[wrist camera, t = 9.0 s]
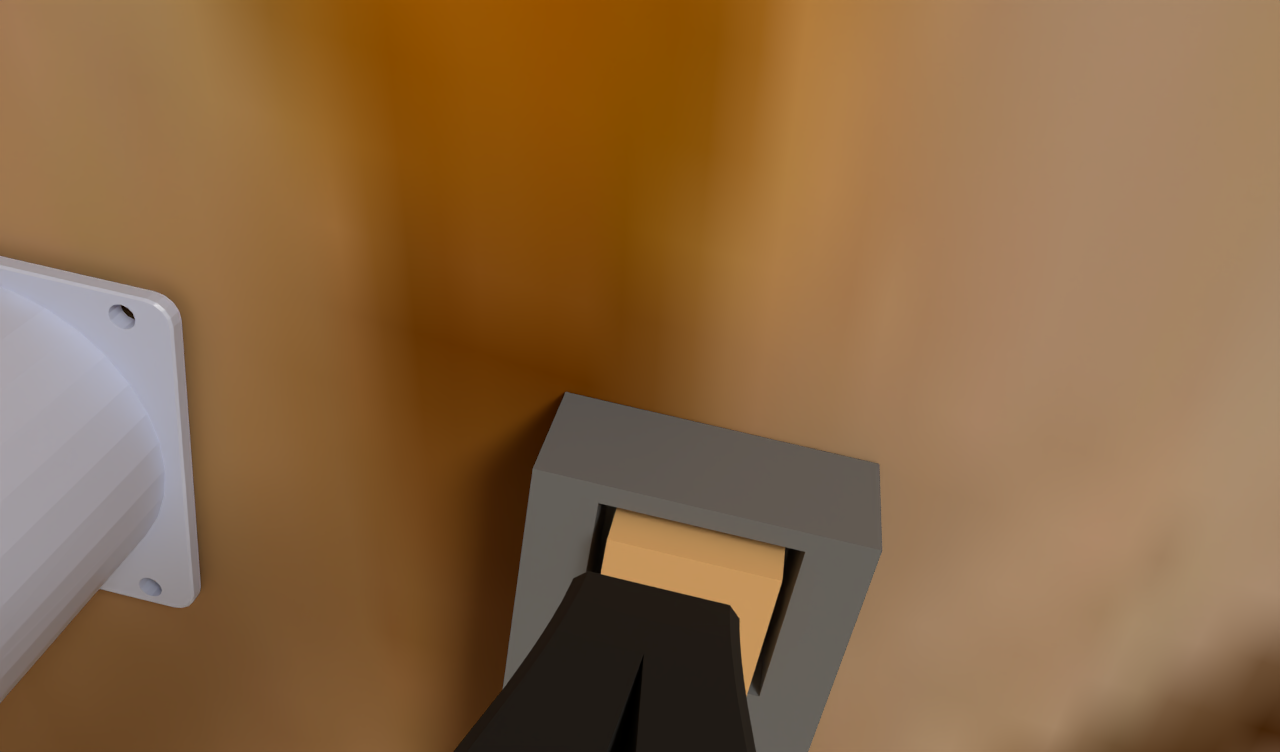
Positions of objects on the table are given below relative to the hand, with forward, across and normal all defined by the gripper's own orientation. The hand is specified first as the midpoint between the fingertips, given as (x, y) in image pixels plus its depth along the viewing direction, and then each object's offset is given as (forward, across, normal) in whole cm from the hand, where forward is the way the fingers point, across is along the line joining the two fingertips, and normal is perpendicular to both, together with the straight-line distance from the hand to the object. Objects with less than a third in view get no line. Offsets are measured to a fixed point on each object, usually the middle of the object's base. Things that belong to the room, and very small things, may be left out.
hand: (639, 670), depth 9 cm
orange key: (+10, -1, +7) cm, 12 cm away
